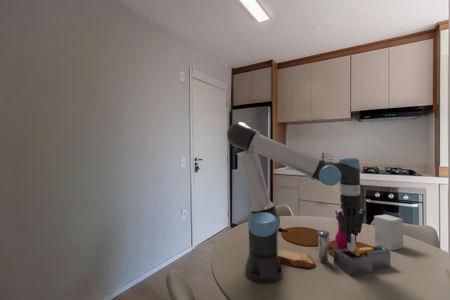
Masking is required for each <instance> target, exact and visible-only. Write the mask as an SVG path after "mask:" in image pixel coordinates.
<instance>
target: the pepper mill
mask: <svg viewBox="0 0 450 300" xmlns="http://www.w3.org/2000/svg"><path fill="white" fill-rule="evenodd" d="M343 214H344V213H343ZM343 216H344V215H343ZM335 219H336V220H337V221H336V222H337V224H336V225H337V226H338V230H337V232H336V234H335V237H334V241H335V243H336V244H335V246H336V247H335V248H336V250H338V249H348V243H347V241H346V234H344V233H342V232H341V228H340V224H339V220H338V216H337V214H336V215H335ZM344 219H345V217H344Z"/></svg>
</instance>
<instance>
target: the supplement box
mask: <svg viewBox="0 0 450 300" xmlns="http://www.w3.org/2000/svg"><path fill="white" fill-rule="evenodd" d="M373 220H374V223H373V224H374V244H375V245H376V246H382V247H383V248H384V249H388V250H390V251H395V250H401V249H404V219H403V218H401V217H397V216H393V215H391V214H390V215H389V214H381V215H380V214H378V215H374V216H373Z"/></svg>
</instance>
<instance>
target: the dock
mask: <svg viewBox="0 0 450 300" xmlns="http://www.w3.org/2000/svg"><path fill="white" fill-rule="evenodd" d="M370 247H371V248H372V249H373V251H366V253H362V254H360V256H356V255H355V254H353V253H351V252H350V251H348V249H333V264H334V265H335V266H336V267H338V268H339V269H340V270H341V271H343V272H345V274H347V275H348V276H349V277H352V276H362V275H368V274H369V275H370V274H372V273H373V270H377V269H386V268H391V250H388V249H386V248H384V247H382V246H379V245H375V246H370ZM362 248H364V247H362ZM383 248H384V249H383Z"/></svg>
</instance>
